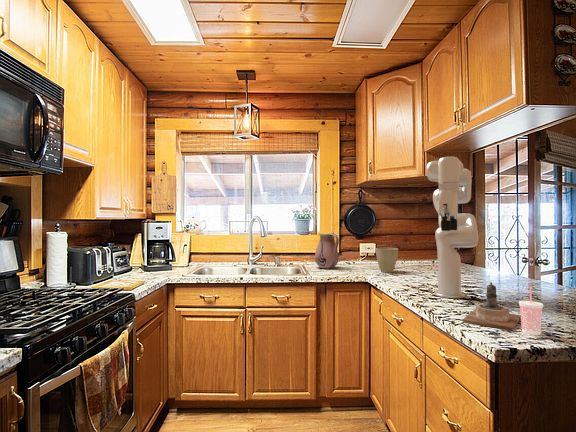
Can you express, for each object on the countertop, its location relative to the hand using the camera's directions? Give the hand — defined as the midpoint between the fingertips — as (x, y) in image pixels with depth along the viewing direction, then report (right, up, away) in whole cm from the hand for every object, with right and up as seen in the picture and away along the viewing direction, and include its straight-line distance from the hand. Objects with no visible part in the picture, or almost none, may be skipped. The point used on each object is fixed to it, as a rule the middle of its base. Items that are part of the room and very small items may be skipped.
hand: (449, 230), depth 135 cm
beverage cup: (+9, -30, -33) cm, 45 cm away
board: (+5, -30, -20) cm, 36 cm away
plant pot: (+2, -32, +90) cm, 96 cm away
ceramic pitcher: (-35, -33, +111) cm, 121 cm away
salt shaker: (+5, -29, -19) cm, 35 cm away
